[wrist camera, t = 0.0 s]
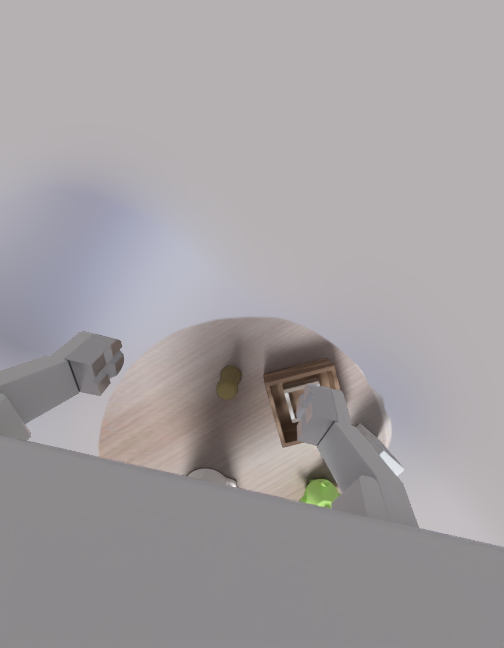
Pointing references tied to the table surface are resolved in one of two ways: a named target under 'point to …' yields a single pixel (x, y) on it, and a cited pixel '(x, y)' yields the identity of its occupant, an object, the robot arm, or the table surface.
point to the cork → (228, 382)
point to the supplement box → (381, 450)
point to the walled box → (295, 393)
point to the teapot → (320, 493)
